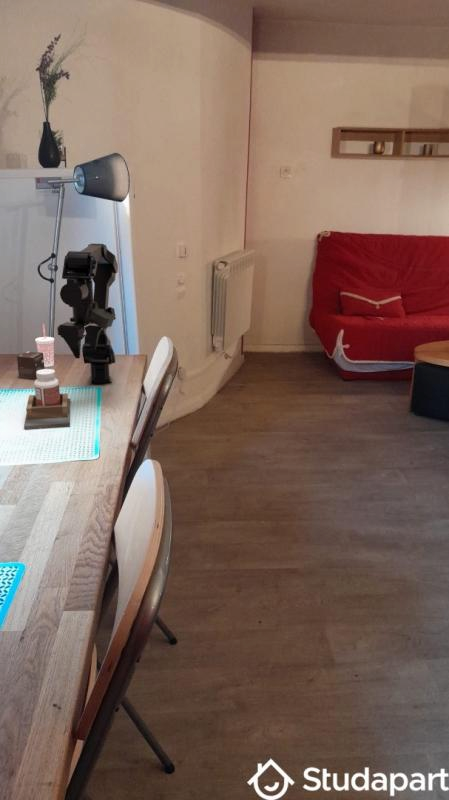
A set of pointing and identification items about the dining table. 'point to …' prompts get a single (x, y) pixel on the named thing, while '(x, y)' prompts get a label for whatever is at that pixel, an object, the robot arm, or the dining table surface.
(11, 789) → the dining table surface
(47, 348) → the beverage cup
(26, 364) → the box
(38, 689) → the dining table surface
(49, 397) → the pill bottle
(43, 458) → the dining table surface
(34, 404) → the socket
